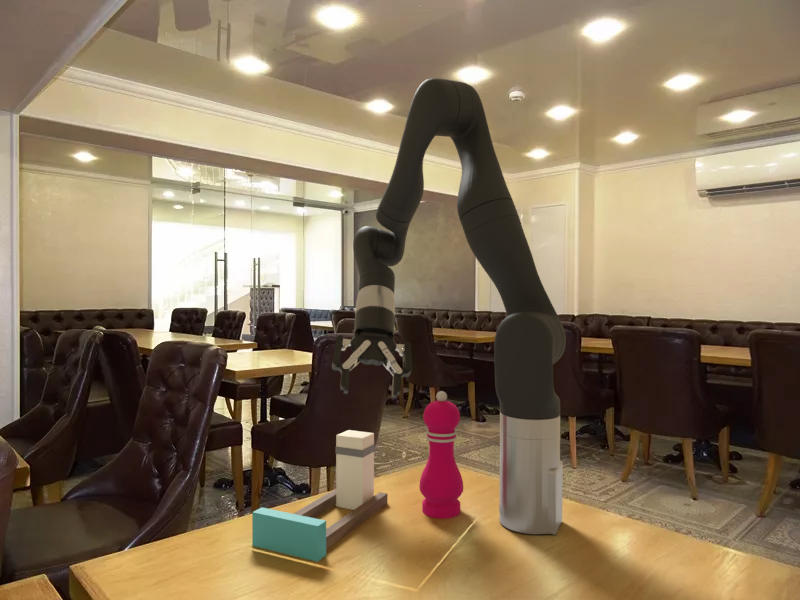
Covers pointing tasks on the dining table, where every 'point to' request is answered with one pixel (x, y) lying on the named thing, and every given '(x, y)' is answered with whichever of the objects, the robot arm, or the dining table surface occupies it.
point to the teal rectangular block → (289, 533)
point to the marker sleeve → (354, 468)
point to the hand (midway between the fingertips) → (370, 394)
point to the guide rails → (346, 522)
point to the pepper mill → (441, 461)
